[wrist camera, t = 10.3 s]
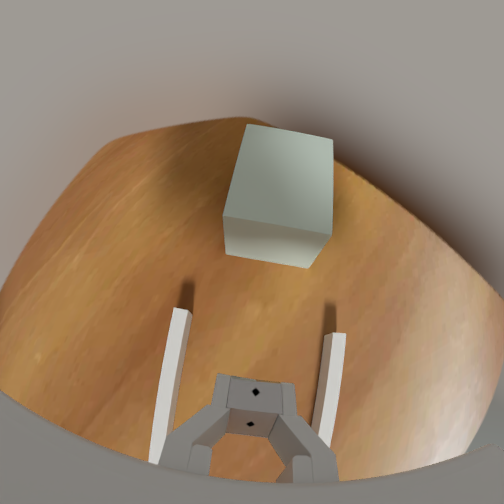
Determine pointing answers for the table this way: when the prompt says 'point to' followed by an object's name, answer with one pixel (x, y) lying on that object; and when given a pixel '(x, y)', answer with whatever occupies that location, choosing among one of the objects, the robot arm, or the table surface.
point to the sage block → (280, 197)
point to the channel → (173, 371)
